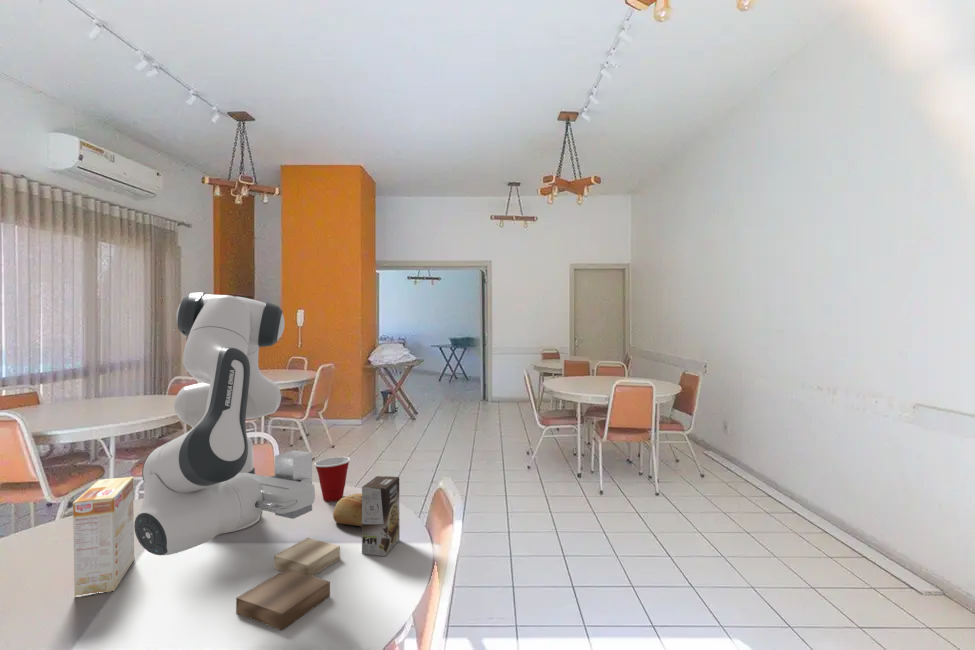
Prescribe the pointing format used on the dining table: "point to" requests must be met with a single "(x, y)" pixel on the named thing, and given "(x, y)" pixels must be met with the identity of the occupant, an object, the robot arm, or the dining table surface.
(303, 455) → the grey tall rectangular block
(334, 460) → the plastic cup
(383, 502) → the coffee box
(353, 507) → the bread roll
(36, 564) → the dining table surface
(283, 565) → the birch stand
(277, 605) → the walnut stand
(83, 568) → the coffeecake box
